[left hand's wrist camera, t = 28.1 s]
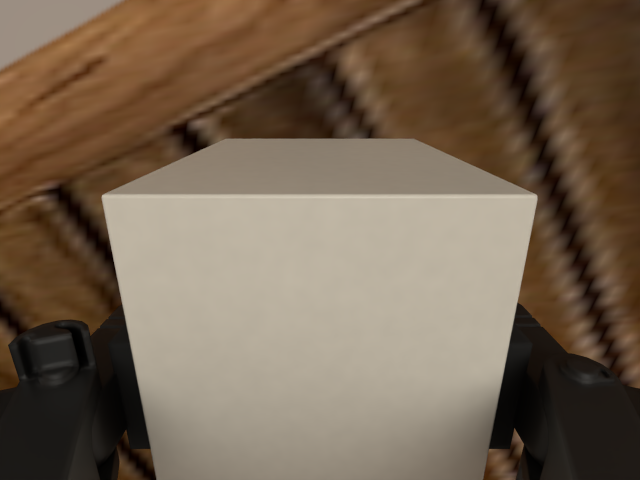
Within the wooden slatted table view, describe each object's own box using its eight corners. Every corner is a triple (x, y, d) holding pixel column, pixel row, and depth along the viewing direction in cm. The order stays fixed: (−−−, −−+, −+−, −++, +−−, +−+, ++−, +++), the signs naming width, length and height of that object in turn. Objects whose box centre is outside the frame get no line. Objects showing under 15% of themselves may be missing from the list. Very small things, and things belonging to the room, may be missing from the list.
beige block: (224, 138, 14) (98, 194, 6) (415, 138, 14) (539, 194, 6) (241, 343, 17) (171, 562, 9) (398, 343, 17) (467, 562, 9)
